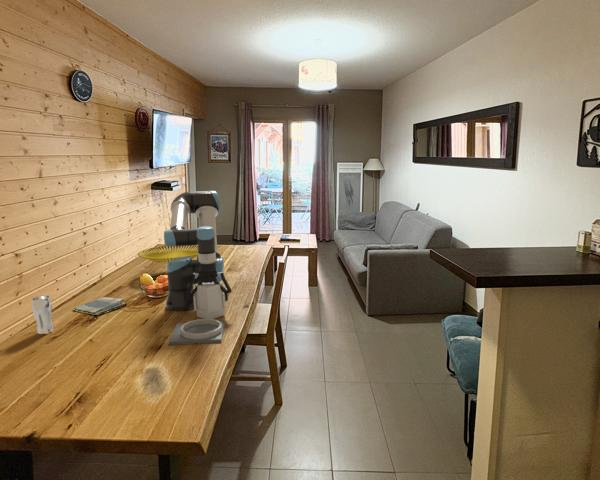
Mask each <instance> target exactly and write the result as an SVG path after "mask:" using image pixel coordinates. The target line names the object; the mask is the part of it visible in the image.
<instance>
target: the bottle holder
mask: <svg viewBox="0 0 600 480" xmlns="http://www.w3.org/2000/svg"><path fill="white" fill-rule="evenodd" d="M225 325H226V321H225V320H220V321H219V320H218V319H203V318H199V319H194V320H190V321H188V322H181V323H176V325H175V327H174V329H173V331H172V334H171V336H170V338H169V340H168V346H177V345H178V344H181V345H194V344H195V343H198V344H211V343H212V344H213V343H222V341H223V335H224V329H225ZM178 346H179V345H178Z"/></svg>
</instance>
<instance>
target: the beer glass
mask: <svg viewBox="0 0 600 480" xmlns="http://www.w3.org/2000/svg"><path fill="white" fill-rule="evenodd" d="M31 310H32V313H33V314H32V315H33V317H34V319H35V322H36V327H37V328H36V329H37V330H36V331H37V332H36V334H37V333H39V334H42V333H48V332H51V331H53V330H54V326H53V323H52V319H53V305H52V300H51V296H50V295H46V294H45V295H38V296H35V297H32V298H31ZM54 331H55V330H54ZM54 331H53V332H54Z"/></svg>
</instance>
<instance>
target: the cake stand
mask: <svg viewBox="0 0 600 480" xmlns="http://www.w3.org/2000/svg"><path fill="white" fill-rule="evenodd" d="M137 256H138V257H140V258H142V259H145V260H147V261H148V260H149V261H152V262H155V263H168V262H169V261H170V260H172V259H175V258H179V257H185V256H187V257H188V256H189V257H191V258H192V259H194V258H197V256H198V245H188V246H175V247H173V246H166V245H160V246H154V247H149V248H146V249H142V250H141V251H139V252H137ZM163 275H167V272H165V273H164V274H162V276H163Z"/></svg>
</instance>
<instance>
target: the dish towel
mask: <svg viewBox="0 0 600 480" xmlns="http://www.w3.org/2000/svg"><path fill="white" fill-rule="evenodd" d="M124 301H125V299H124V298H114V297H113V298H112V297H106V296H105V297H100V298H96V299H94V300H92V301H88V302H86V303H83V304H80V305H78V306H75V307H74V308H73V309H75V310H78V311H83V312H88V313H93V315H98V314H99V313H105V312H107V311H110V310H113V309H115V308H118V307H120V306H122V305H124V304H127V305H128V302H124ZM122 307H123V306H122ZM118 309H119V308H118ZM113 311H114V310H113ZM110 312H111V311H110ZM105 314H106V313H105ZM93 315H92V316H93Z"/></svg>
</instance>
